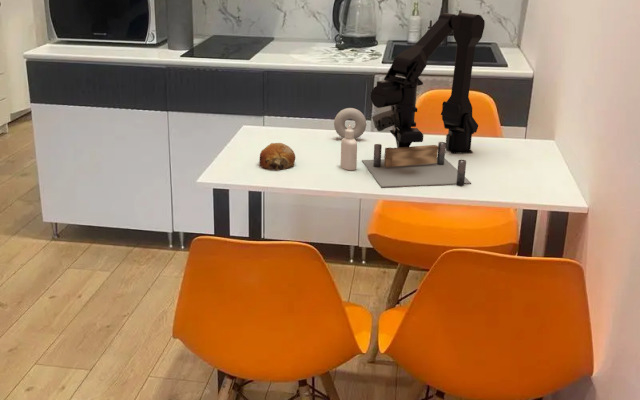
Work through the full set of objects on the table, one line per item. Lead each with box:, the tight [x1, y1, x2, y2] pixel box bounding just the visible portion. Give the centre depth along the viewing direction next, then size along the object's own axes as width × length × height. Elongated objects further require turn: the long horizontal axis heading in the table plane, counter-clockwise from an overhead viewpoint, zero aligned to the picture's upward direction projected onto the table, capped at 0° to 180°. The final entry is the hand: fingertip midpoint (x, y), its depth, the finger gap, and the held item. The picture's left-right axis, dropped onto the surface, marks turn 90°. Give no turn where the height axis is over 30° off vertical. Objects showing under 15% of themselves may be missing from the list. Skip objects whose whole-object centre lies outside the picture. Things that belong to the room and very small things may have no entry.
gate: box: [384, 144, 438, 167], centre depth 196 cm, size 15×2×5 cm, turn 107°
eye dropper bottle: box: [340, 124, 358, 171], centre depth 195 cm, size 4×6×12 cm
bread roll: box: [259, 142, 296, 171], centre depth 198 cm, size 10×10×8 cm
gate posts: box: [373, 141, 467, 187], centre depth 190 cm, size 20×18×6 cm
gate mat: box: [361, 158, 472, 189], centre depth 194 cm, size 24×22×1 cm
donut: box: [333, 107, 367, 140], centre depth 221 cm, size 10×4×10 cm, turn 84°
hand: (401, 157), depth 199 cm, fingers closed
